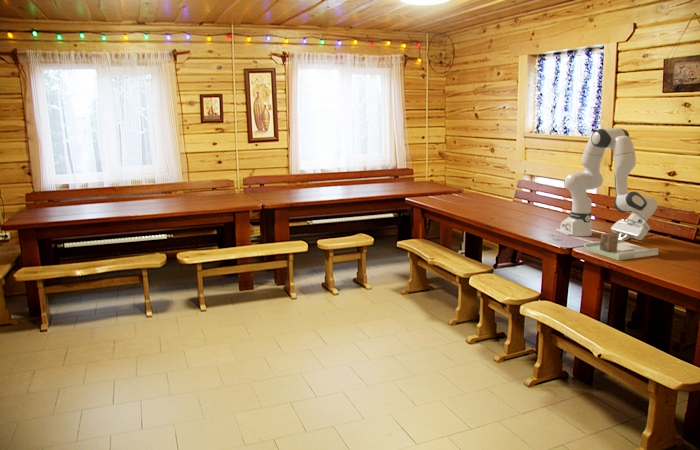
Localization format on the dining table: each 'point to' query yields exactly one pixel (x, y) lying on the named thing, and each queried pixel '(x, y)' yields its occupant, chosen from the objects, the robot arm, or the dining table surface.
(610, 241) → the walnut block
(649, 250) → the board
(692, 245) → the dining table surface
